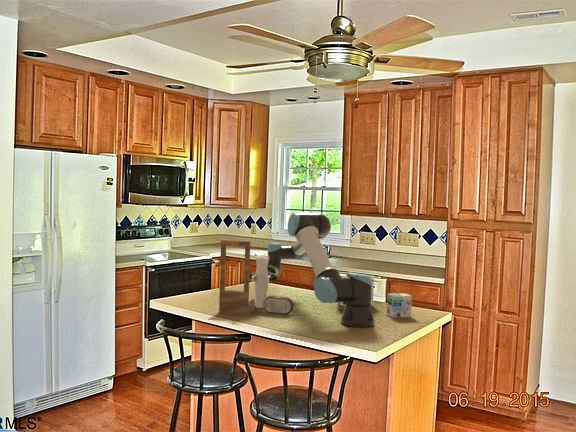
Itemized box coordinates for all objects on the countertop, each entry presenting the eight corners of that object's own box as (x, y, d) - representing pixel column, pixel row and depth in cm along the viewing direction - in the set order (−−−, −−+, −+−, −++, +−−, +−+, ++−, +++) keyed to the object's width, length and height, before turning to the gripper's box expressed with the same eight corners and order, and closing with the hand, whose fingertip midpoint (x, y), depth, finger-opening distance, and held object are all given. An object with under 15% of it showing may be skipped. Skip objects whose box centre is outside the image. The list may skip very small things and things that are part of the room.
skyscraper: (271, 308, 280) (273, 254, 279) (256, 309, 277) (258, 254, 276) (265, 305, 288) (268, 251, 287) (251, 305, 285) (253, 251, 284)
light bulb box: (391, 317, 269) (392, 296, 268) (385, 314, 275) (386, 293, 275) (411, 317, 272) (412, 295, 271) (405, 314, 278) (406, 293, 278)
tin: (293, 314, 270) (294, 297, 269) (291, 315, 267) (292, 298, 266) (264, 311, 274) (264, 294, 273) (262, 312, 271) (262, 295, 270)
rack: (246, 316, 262) (249, 241, 260) (218, 313, 265) (220, 239, 263) (254, 309, 276) (256, 238, 275) (227, 307, 279) (229, 237, 277)
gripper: (287, 281, 298) (278, 288, 275) (252, 278, 302) (240, 285, 279) (287, 267, 298) (279, 273, 275) (252, 265, 301) (240, 271, 279)
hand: (259, 279), depth 277 cm, fingers closed on skyscraper, 7 cm apart
